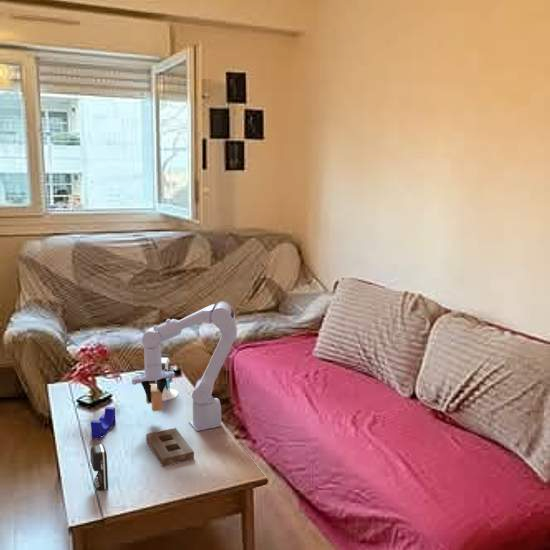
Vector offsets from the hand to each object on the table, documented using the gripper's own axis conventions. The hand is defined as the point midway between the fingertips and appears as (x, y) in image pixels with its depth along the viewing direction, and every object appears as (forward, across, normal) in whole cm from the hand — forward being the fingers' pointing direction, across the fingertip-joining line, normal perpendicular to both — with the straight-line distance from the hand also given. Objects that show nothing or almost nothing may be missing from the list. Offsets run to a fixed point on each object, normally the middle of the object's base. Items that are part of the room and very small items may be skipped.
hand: (154, 400), depth 205 cm
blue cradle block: (+9, +18, -3) cm, 20 cm away
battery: (+9, +25, +31) cm, 41 cm away
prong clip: (+2, 0, 0) cm, 2 cm away
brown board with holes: (+9, +1, +20) cm, 22 cm away
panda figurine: (+9, -10, -23) cm, 27 cm away
